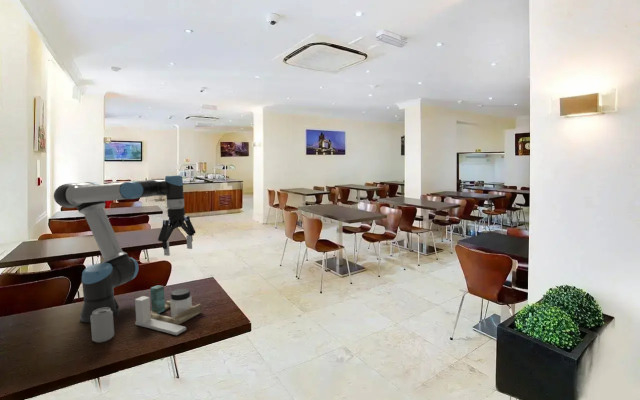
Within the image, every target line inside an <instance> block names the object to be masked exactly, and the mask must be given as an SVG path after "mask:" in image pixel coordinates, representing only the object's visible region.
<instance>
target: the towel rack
mask: <svg viewBox="0 0 640 400" xmlns="http://www.w3.org/2000/svg"><path fill="white" fill-rule="evenodd" d="M150 306H151V310H150V314H151V319H155V320H159V321H163V322H168V323H172V324H176V325H181V324H183V323H185V322H187V321H188V320H190V319H192V318H194V317H196V316H197V315H199V314H201V313H202V304H201V303H197V304H195V305H192V308H190V309H188V310H186V311H184V312H182V313H180V314H178V315H176V316H175V318H172V317H171V316H168V315H162V314H160V313H162V312H165V311H166V310H168V309H171V304H170V299H169V300H166V299H165V286H164V285H159V284H158V285H155V286H151V287H150Z"/></svg>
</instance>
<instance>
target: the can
mask: <svg viewBox="0 0 640 400" xmlns="http://www.w3.org/2000/svg"><path fill="white" fill-rule="evenodd" d="M90 319H91V323H90V329H91V341H92V342H95V343H105V342H108V341H110V340H111V339H112V338H114V336H115V327H114V317H113V311H111V309H110V308H108V307H105V308H99V309H96V310H94V311H93V312H92V315H91V316H90Z"/></svg>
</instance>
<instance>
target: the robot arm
mask: <svg viewBox="0 0 640 400" xmlns="http://www.w3.org/2000/svg"><path fill="white" fill-rule="evenodd" d="M157 196H158V197H159V196H160V197H161V196H162V197H163V196H166V207H167V208H168V209H166V210H167V217H168V219H163V220H162V226H161V230H160V232H159V235H158V239H157V241H158V242H161V244H162V249H163V255H164V256H166V257H168V256H171V253H170V241H168V240H169V239H170V237H171V235H172V233H173V231H174V230H175V229H178V228H181V229H182V230H183V231H184V232H185V233H186V234H187V235H186V237H185V239H186V249H189V250H192V249H193V241H194V240H193V236H194V235H195V234H196V230H195V227H194V226H193V224H192V222H191V217H190V216H188V215H186V209H185V208H184V207H185V195H184V180H183V176H181V175H179V174H178V175H177V174H176V175H166V176H165V178H164V179H147V180H146V179H145V180H130V181H129V180H128V181H123V182H112V183H111V182H110V183H103V184H99V183H97V182H92V181H91V182H90V181H88V182H87V181H85V182H75V183H74V182H73V183H69V182H68V183H64V184H62V185H61V184H60V185H59V186H58V187H57V188H56V189H55V190H54V193H53V199H54V201H55V203H57V205H59V206H61V207H62V208H65V209H73V208H74V209H75V208H76V209H77V210H78V213H79V214H82V215H84V218H85V220H86V222H87V224H88V227H89V229H90V231H91V233H92V236H93V238H94V240H95V242H96V244H97V246H98V249H99V251H100V253H101V256H102V258H103V260H102V261H101V263H97V264H93V265H90V266H87V267H86V268H84V270H83V271H82V272H81V274H82V275H81V283H82V295H83V305H82V308H81V312H80V314H79V315H80V317H79V318H80V322H83V323H86V324H89V323H90V324H91V319H90V316H91V315H92V312H93V311H94V310H96V309H99V308H105V307H108V308H110V309H111V311H113V318H114V317H116V316H117V315H119V314H120V307H119V303H118V302H117V300H116V298H115V291H114V288H116V287H119V286H121V285H124V284H126V283H129V282H130V281H132V280H134V279H135V278H136V277H137V275H138V273H139V264H138V261H137V260H136V259H135V258H133V257H132V256H131V257H130V256H129V254H128V253H127V252H125V251H123V249H122V247H121V245H120V242H119V240H118V238H117V236H116V233H115V231H114V228H113V227H112V224H111V222H110V220H109V218H108V215H107V213H106V211H105V209H104V208H105V207H106V203H105V202H106V201H107V202H109V201H119V200H120V201H121V200H135V199H136V200H137V199H142V198H149V197H157Z"/></svg>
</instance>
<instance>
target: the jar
mask: <svg viewBox="0 0 640 400" xmlns="http://www.w3.org/2000/svg"><path fill="white" fill-rule="evenodd" d="M192 299H193V298H192V295H191V290H190V289H189V288H177V289H175V290H173V291H171V292H170V299H169V301H170V304H171V307H170V317H172V318H175V316H176V315H178V314H180V313H182V312H184V311H186V310H188V309H190V308H192V304H193V301H192Z"/></svg>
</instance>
